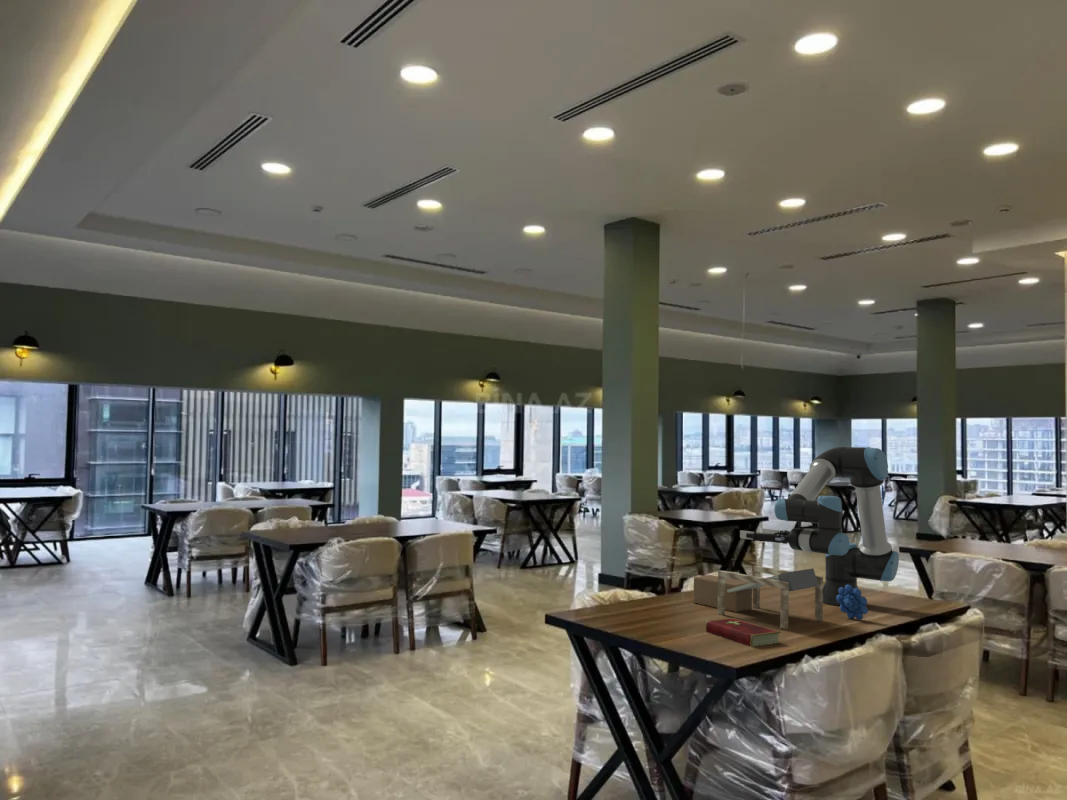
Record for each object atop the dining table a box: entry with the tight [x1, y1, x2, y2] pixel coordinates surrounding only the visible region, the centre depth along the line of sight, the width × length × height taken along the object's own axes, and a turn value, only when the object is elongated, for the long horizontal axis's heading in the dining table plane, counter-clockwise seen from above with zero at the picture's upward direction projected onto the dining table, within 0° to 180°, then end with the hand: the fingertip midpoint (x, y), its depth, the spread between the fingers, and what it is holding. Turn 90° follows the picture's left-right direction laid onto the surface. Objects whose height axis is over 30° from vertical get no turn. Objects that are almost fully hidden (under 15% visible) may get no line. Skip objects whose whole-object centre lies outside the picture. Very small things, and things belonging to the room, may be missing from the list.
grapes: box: [836, 585, 869, 621], centre depth 290 cm, size 12×7×12 cm, turn 43°
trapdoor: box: [727, 568, 819, 592], centre depth 288 cm, size 26×19×6 cm
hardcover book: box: [704, 617, 781, 648], centre depth 259 cm, size 12×21×4 cm, turn 29°
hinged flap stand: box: [717, 565, 824, 630], centre depth 289 cm, size 28×23×16 cm
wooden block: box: [692, 574, 753, 613], centre depth 307 cm, size 10×10×20 cm
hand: (752, 533), depth 296 cm, fingers open, 13 cm apart
